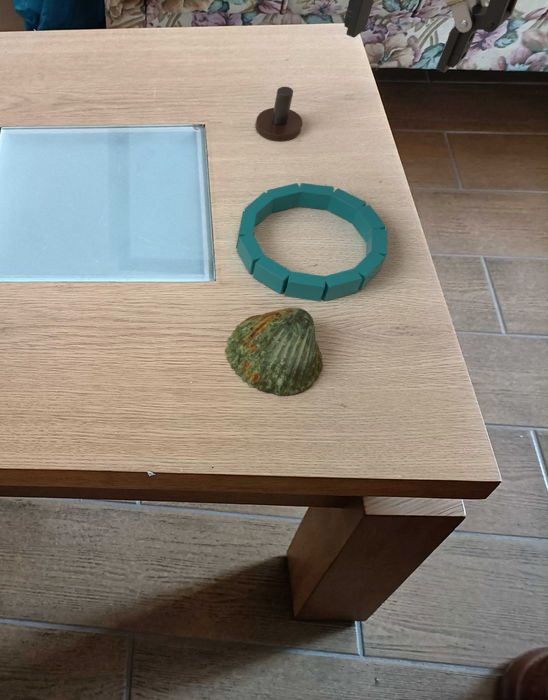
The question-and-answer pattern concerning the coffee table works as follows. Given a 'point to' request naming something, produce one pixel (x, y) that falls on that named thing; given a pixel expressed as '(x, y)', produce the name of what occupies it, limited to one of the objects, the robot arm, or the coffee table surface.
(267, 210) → the ring
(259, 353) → the seashell
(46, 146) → the coffee table surface
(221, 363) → the coffee table surface
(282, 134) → the peg stand
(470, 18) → the robot arm
